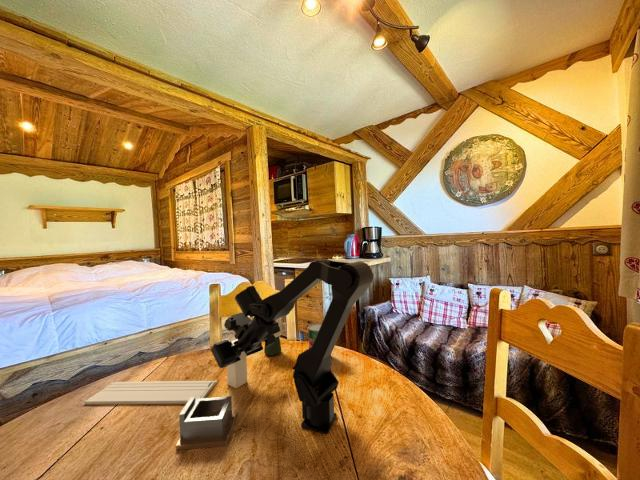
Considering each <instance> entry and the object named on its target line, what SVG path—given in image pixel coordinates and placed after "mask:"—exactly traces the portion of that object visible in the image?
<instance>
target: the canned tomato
mask: <svg viewBox="0 0 640 480" xmlns="http://www.w3.org/2000/svg"><path fill="white" fill-rule="evenodd" d="M321 324H322V322H319V323H318V322H317V323H313V324H310V325H309V326H308V327H307V329H308V330H307V331H308V349H309V348H311V347H312V346H313V343H314V341H315V339H316V336H317V334H318V331H319V329H320V327H321ZM330 358H331V359H332V355H331V356H330Z"/></svg>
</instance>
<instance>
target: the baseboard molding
mask: <svg viewBox="0 0 640 480" xmlns="http://www.w3.org/2000/svg"><path fill="white" fill-rule="evenodd" d="M216 379H217V377H215V378H214V380H170V381H169V380H166V381H165V380H160V381H158V380H156V381H154V380H153V381H151V380H150V381H115V382H110V383H109V385H107V386H105V387H104V388H103V389H101V390H99V391H98V392H97V393H95V394H93V395H92V396H90V397H89V398H87V399H86V400H85V401H84V405H182V404H183V405H186V404H187V402H188V401H189V399H190V398H191V397H195V401H196V399H200V398H207V396H208V395H209V393H210V392H211V391H212V390H213V388H215V386H216V385H217V383H218V380H216Z"/></svg>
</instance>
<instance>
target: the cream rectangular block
mask: <svg viewBox="0 0 640 480" xmlns="http://www.w3.org/2000/svg"><path fill="white" fill-rule="evenodd" d="M235 341H238V339H236V338H235V339H234V340H232V341H231V342H232V344H233V343H234V342H235ZM233 345H234V344H233ZM239 357H240V359H241V360H240V361H237V362H235V363H233V364H230V365H228V366H226V377H227V378H226V379H227V381H226V382H227V385H228V386H231V387H232V388H235V389H237V388H239V387H241V386H243V385H245V384H246V383H248V367H247V366H248V363H247V362H248V361H247V357H248V356H246V354H245V352H242V353H241V355H240V356H239Z"/></svg>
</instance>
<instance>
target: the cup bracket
mask: <svg viewBox="0 0 640 480" xmlns="http://www.w3.org/2000/svg"><path fill="white" fill-rule="evenodd" d="M232 400H233V399H232V396H230V395H229V396H217V397H206V398H200V399H196V401H195V397H191V398H190V399H189V401H188V402H187V404H184V407H183V408H182V409H181V411H180V413H179V415H178V416H179V417H178V418H179V439H178V441H177V443H176V445H175V450H176V451H181V450H182V451H183V450H192V449H194V450H196V449H204V448H215V447H216V448H217V447H227V445H228V443H229V440H230V437H231V434H232V431H233V429H234V425H235V421H236V419H237V416H238V409H233V408H232V407H233V402H232Z"/></svg>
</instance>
